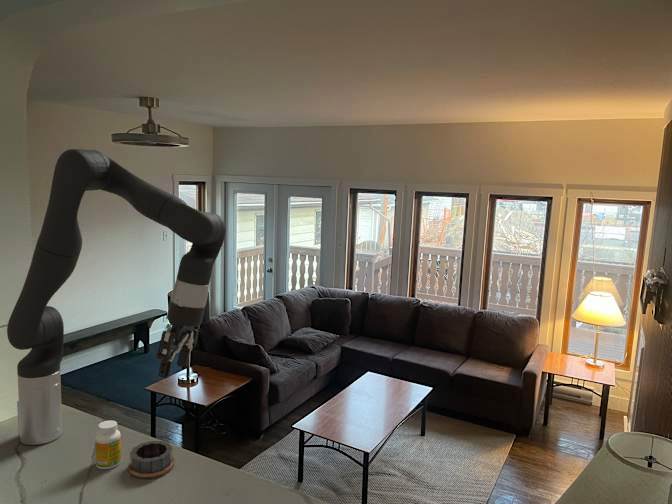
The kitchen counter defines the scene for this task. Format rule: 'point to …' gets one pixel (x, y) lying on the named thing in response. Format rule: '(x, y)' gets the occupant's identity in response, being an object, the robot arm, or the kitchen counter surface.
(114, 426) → the supplement bottle
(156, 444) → the collar mount
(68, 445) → the kitchen counter surface
